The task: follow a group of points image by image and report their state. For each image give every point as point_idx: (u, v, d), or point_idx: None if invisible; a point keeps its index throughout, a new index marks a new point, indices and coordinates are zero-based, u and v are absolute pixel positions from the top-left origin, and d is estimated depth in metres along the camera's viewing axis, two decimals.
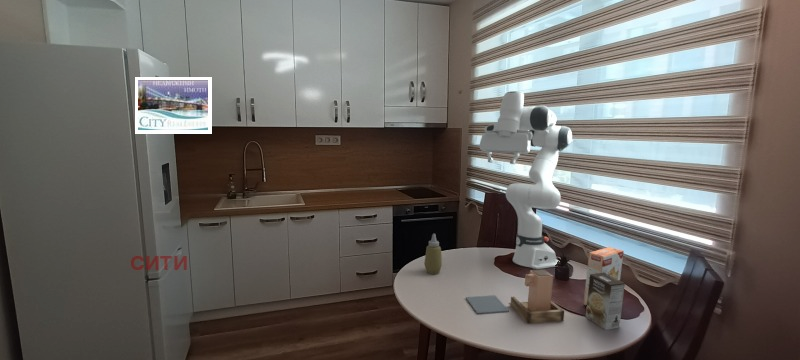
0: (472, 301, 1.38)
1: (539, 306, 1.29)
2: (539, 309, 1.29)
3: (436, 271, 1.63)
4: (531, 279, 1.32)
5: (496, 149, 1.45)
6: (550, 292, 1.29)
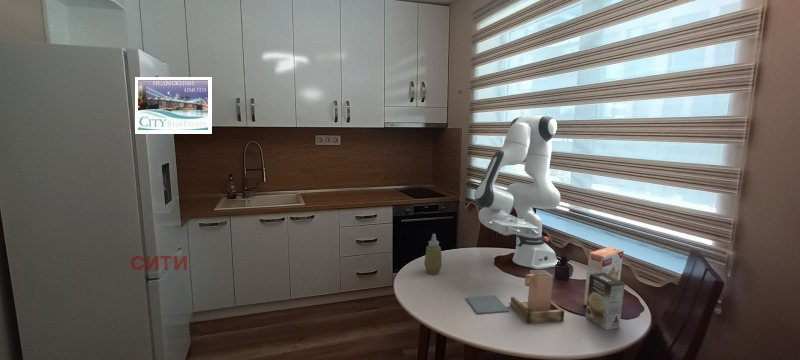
0: (472, 301, 1.38)
1: (539, 306, 1.29)
2: (539, 309, 1.29)
3: (436, 271, 1.63)
4: (531, 279, 1.32)
5: (522, 234, 1.48)
6: (550, 292, 1.29)
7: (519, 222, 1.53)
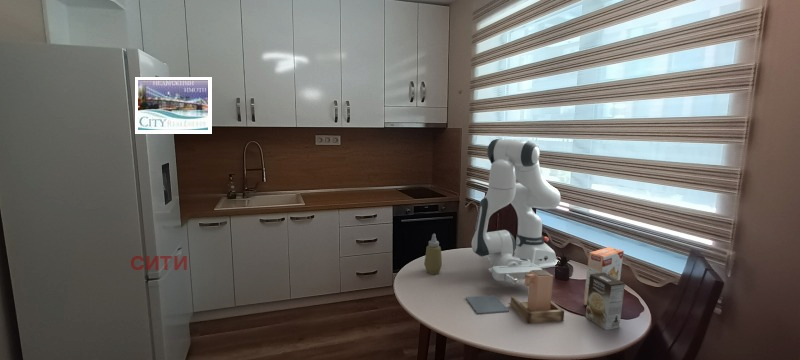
0: (472, 301, 1.38)
1: (539, 306, 1.29)
2: (539, 309, 1.29)
3: (436, 271, 1.63)
4: (531, 279, 1.32)
5: (524, 279, 1.46)
6: (550, 292, 1.29)
7: (523, 265, 1.51)
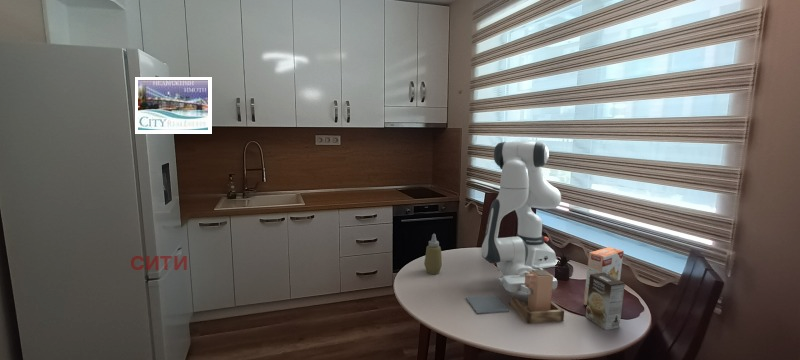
0: (472, 301, 1.38)
1: (539, 306, 1.29)
2: (539, 309, 1.29)
3: (436, 271, 1.63)
4: (531, 279, 1.32)
5: None
6: (550, 292, 1.29)
7: None
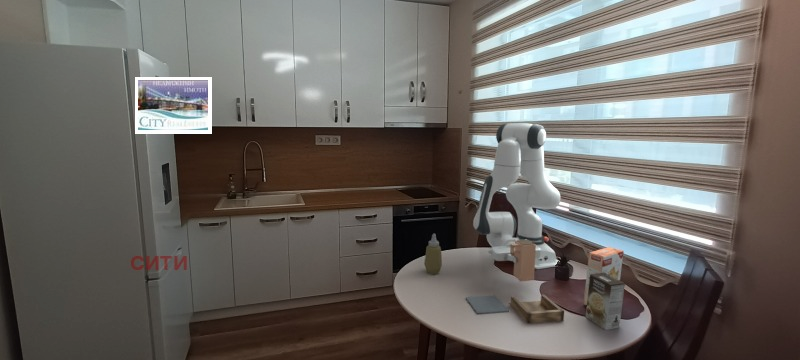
0: (472, 301, 1.38)
1: (524, 272, 1.41)
2: (523, 275, 1.41)
3: (436, 271, 1.63)
4: (516, 248, 1.43)
5: None
6: (533, 259, 1.40)
7: None
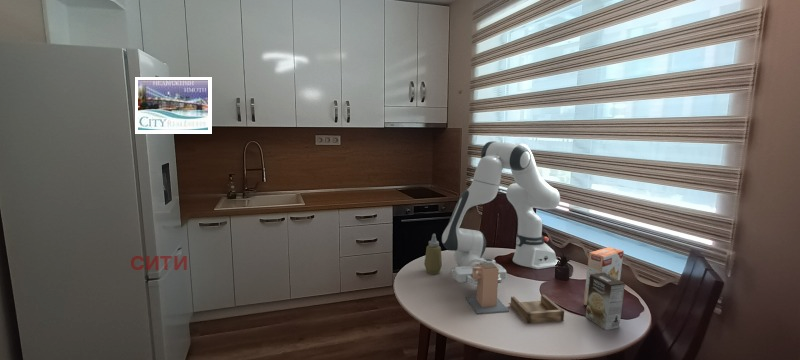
0: (472, 301, 1.38)
1: (486, 297, 1.33)
2: (485, 300, 1.33)
3: (436, 271, 1.63)
4: (479, 272, 1.36)
5: None
6: (496, 284, 1.33)
7: None
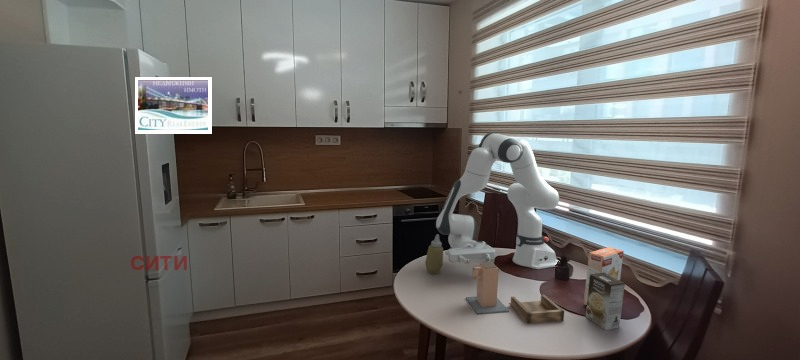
0: (472, 301, 1.38)
1: (486, 297, 1.33)
2: (485, 300, 1.33)
3: (436, 271, 1.63)
4: (479, 272, 1.36)
5: None
6: (496, 284, 1.33)
7: (478, 246, 1.59)
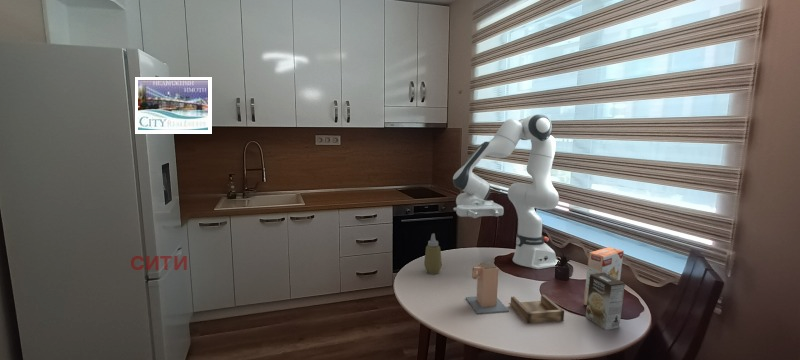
0: (472, 301, 1.38)
1: (486, 297, 1.33)
2: (485, 300, 1.33)
3: (436, 271, 1.63)
4: (479, 272, 1.36)
5: (486, 215, 1.56)
6: (496, 284, 1.33)
7: (486, 204, 1.61)
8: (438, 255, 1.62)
